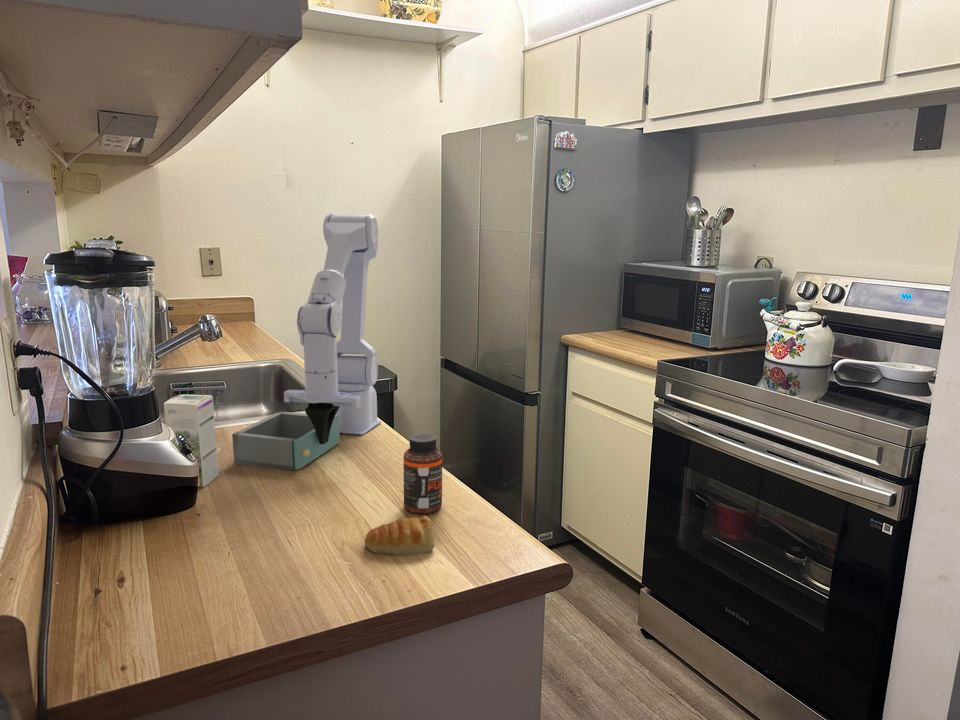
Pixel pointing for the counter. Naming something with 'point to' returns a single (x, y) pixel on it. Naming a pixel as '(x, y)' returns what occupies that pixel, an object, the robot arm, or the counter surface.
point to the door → (314, 445)
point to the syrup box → (195, 430)
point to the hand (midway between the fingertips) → (323, 442)
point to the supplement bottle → (422, 475)
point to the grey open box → (271, 441)
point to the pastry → (402, 537)
